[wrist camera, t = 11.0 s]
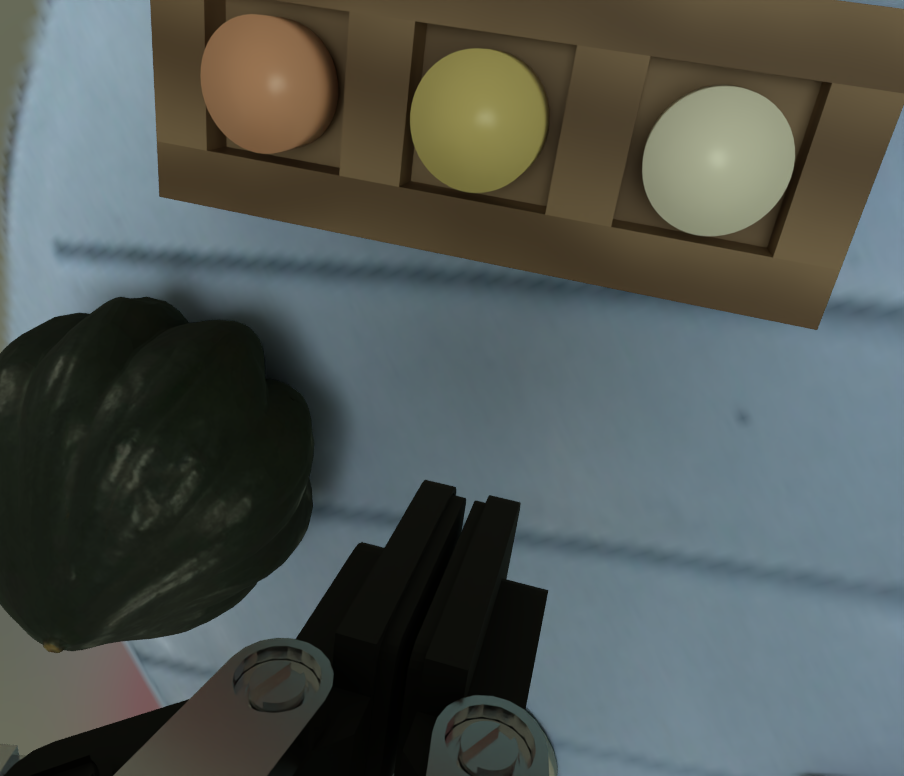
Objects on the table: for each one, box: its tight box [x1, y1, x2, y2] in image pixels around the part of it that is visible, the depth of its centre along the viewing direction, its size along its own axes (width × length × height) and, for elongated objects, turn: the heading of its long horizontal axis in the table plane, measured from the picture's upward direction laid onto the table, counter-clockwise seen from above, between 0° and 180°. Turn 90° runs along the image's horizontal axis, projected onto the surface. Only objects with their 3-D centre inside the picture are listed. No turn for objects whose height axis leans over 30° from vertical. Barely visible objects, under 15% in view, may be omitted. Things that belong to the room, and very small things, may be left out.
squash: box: [0, 297, 314, 653], centre depth 32 cm, size 14×15×15 cm
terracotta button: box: [200, 14, 338, 154], centre depth 27 cm, size 5×5×2 cm
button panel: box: [150, 0, 904, 330], centre depth 27 cm, size 10×26×2 cm, turn 82°
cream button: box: [642, 85, 795, 236], centre depth 24 cm, size 5×5×2 cm
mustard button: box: [410, 48, 550, 193], centre depth 25 cm, size 5×5×2 cm
